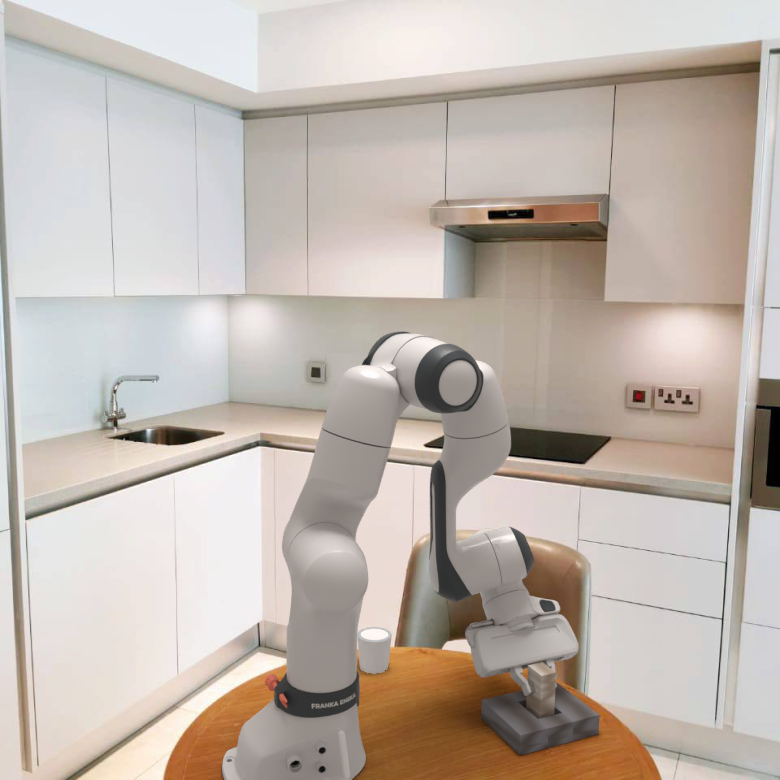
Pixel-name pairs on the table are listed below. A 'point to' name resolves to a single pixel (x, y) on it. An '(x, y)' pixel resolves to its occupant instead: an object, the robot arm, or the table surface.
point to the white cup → (374, 649)
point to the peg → (541, 690)
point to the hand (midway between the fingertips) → (541, 691)
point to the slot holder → (539, 721)
